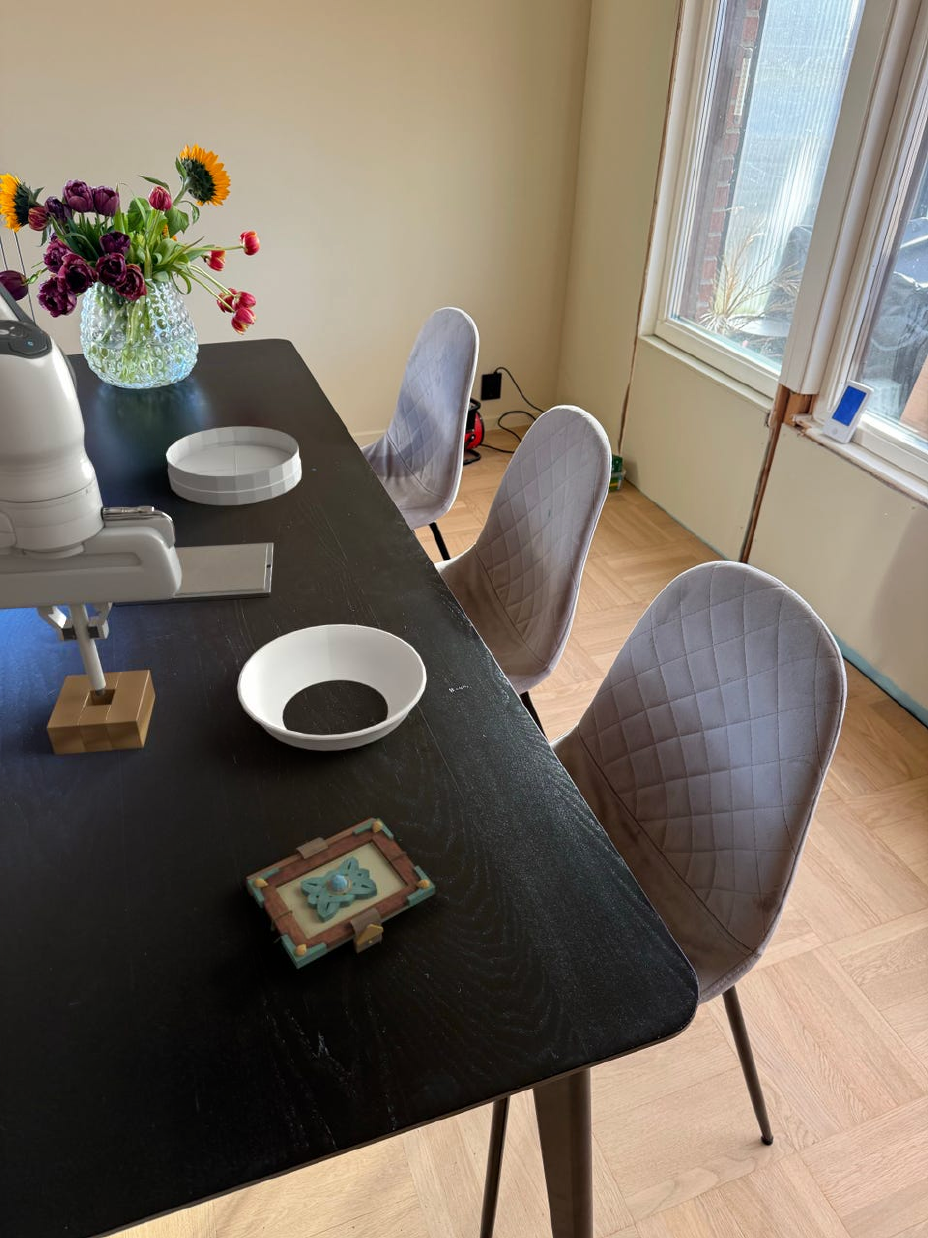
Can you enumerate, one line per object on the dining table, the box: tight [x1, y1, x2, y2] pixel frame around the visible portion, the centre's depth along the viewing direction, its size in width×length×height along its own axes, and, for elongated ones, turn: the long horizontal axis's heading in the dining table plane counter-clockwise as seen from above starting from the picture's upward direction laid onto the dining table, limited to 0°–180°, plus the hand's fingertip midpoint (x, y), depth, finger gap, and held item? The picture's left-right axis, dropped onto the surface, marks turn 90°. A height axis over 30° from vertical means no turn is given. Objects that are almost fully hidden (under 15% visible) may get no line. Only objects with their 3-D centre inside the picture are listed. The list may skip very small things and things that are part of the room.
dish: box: [165, 425, 303, 506], centre depth 146 cm, size 22×22×5 cm
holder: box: [46, 669, 156, 756], centre depth 90 cm, size 9×9×5 cm
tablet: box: [114, 542, 275, 607], centre depth 119 cm, size 20×14×1 cm
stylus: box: [66, 604, 106, 696], centre depth 85 cm, size 2×2×12 cm
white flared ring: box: [236, 623, 427, 752], centre depth 92 cm, size 20×20×6 cm
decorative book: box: [245, 817, 436, 970], centre depth 70 cm, size 13×18×5 cm
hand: (84, 637), depth 84 cm, fingers closed on stylus, 1 cm apart
